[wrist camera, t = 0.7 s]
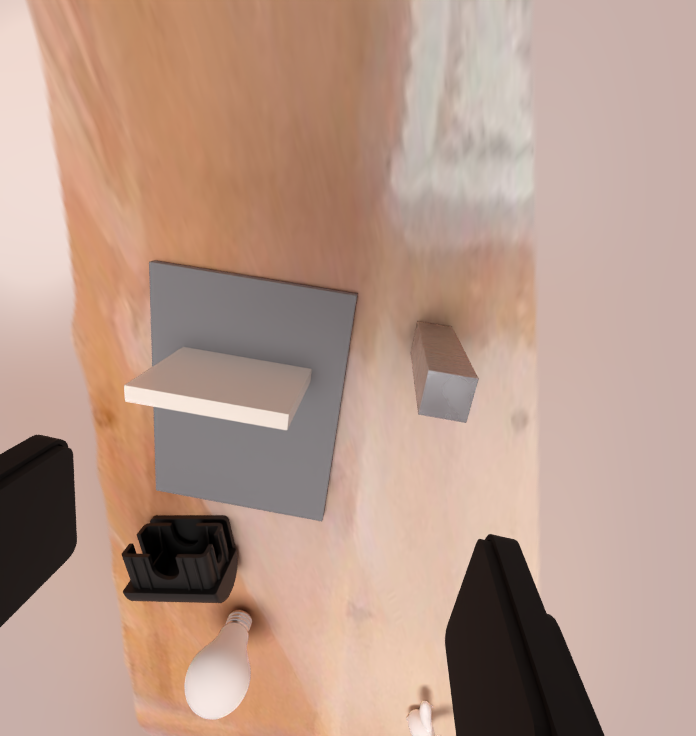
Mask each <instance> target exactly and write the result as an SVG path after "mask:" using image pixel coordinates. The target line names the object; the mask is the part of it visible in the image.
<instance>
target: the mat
mask: <svg viewBox="0 0 696 736" xmlns="http://www.w3.org/2000/svg"><path fill="white" fill-rule="evenodd" d="M149 274H150V307H151V339H152V367H153V366H154V365H156V364H158V363H159V362H161V361H162V360H164V359H165V358H167V357H168V356H170V355H171V354H173V353H174V352H176V351H177V350H179V349H181V348H182V347H187V348H193V349H199V350H205V351H211V352H216V353H222V354H228V355H234V356H240V357H245V358H251V359H257V360H263V361H269V362H274V363H280V364H286V365H292V366H298V367H303V368H309V369H312V372H311V381H310V384H309V386H308V388H307V390H306V392H305V394H304V396H303V398H302V400H301V403H300V405H299V407H298V409H297V411H296V413H295V415H294V417H293V419H292V421H291V423H290V425H289V428H288V430H282V429H276V428H270V427H265V426H259V425H254V424H248V423H243V422H237V421H231V420H226V419H220V418H215V417H209V416H203V415H198V414H192V413H187V412H181V411H176V410H170V409H164V408H159V407H154V437H155V469H156V490H157V491H163V492H168V493H173V494H179V495H184V496H189V497H195V498H200V499H205V500H211V501H216V502H221V503H227V504H232V505H237V506H243V507H248V508H253V509H259V510H264V511H269V512H275V513H280V514H285V515H291V516H296V517H301V518H307V519H312V520H317V521H322V520H323V516H324V510H325V503H326V496H327V490H328V483H329V477H330V470H331V464H332V457H333V451H334V444H335V438H336V431H337V425H338V418H339V412H340V405H341V399H342V392H343V386H344V379H345V372H346V366H347V359H348V353H349V346H350V340H351V333H352V327H353V320H354V314H355V307H356V301H357V294H356V293H350V292H344V291H338V290H332V289H326V288H320V287H314V286H308V285H302V284H295V283H289V282H283V281H277V280H271V279H265V278H259V277H253V276H247V275H241V274H235V273H228V272H222V271H216V270H210V269H204V268H198V267H192V266H186V265H180V264H174V263H167V262H161V261H151V262H149Z"/></svg>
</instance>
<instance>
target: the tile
mask: <svg viewBox="0 0 696 736" xmlns="http://www.w3.org/2000/svg"><path fill="white" fill-rule="evenodd" d="M311 372H312V369H309V368H303V367H298V366H292V365H286V364H280V363H274V362H269V361H263V360H257V359H251V358H245V357H240V356H234V355H228V354H222V353H216V352H211V351H205V350H199V349H193V348H187V347H182V348H181V349H179V350H177V351H176V352H174V353H173V354H171V355H170V356H168V357H167V358H165V359H164V360H162V361H161V362H159V363H158V364H156V365H154V366H153V367H151V368H150V369H148V370H147V371H145V372H144V373H142V374H141V375H139V376H138V377H136V378H134V379H133V380H131V381H130V382H128V383H127V384H125V385H124V392H125V402H131V403H136V404H142V405H148V406H153V407H159V408H164V409H170V410H176V411H181V412H187V413H192V414H198V415H203V416H209V417H215V418H220V419H226V420H231V421H237V422H243V423H248V424H254V425H259V426H265V427H270V428H276V429H282V430H288V428H289V425H290V423H291V421H292V419H293V417H294V415H295V413H296V411H297V409H298V407H299V405H300V403H301V400H302V398H303V396H304V394H305V392H306V390H307V388H308V386H309V384H310V381H311Z"/></svg>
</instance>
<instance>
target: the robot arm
mask: <svg viewBox="0 0 696 736" xmlns="http://www.w3.org/2000/svg"><path fill="white" fill-rule="evenodd" d="M75 511H76V510H75V488H74V465H73V452H72V450H71V449H70V448H68V445H67V443H66V441H64V440H61V439H56V438H52V437H48V436H43V435H35V436H32V437H30V438H28V439H26V440H25V441H23V442H21V443H20V444H18V445H16V446H14V447H12V448H11V449H9V450H7V451H5V452H4V453H2V454H0V627H1V626H2V625H3V624H4V623H5V622H6V621H7V620H8V619H9V618H10V617H11V616H12V615H13V614H14V613H15V612H16V611H17V610H18V609H19V608H20V607H21V606H22V605H23V604H24V603H25V602H26V601H27V600H28V599H29V598H30V597H31V596H32V595H33V594H34V593H35V592H36V591H37V590H38V589H39V588H40V587H41V586H42V585H43V584H44V582H46V581H47V580H48V579H49V578H50V577H51V575H52V574H54V573H55V572H56V571H57V570H58V569H59V568H60V567H61V566H62V565H63V564H64V563H65V562H66V561H67V559H68V558H69V557H70V556H71V555H72V553H73V552H74V549H75V547H76V544H77V533H76V512H75ZM445 647H446V655H447V663H448V671H449V680H450V688H451V696H452V704H453V712H454V720H455V729H456V736H604V733H603V731H602V728H601V726H600V724H599V721H598V719H597V717H596V714H595V712H594V709H593V707H592V704H591V702H590V700H589V697H588V695H587V692H586V691H585V688H584V685H583V683H582V680H581V678H580V676H579V673H578V671H577V668H576V666H575V664H574V661H573V659H572V656H571V654H570V651H569V649H568V647H567V645H566V642H565V640H564V637H563V635H562V632H561V630H560V627H559V626H558V624H557V622H556V620H555V619H554V618H553V617H552V616H551V615H549V614H547V613H546V611H545V609H544V606H543V603H542V601H541V598H540V596H539V593H538V591H537V588H536V586H535V583H534V581H533V578H532V576H531V573H530V571H529V568H528V566H527V563H526V561H525V558H524V555H523V553H522V550H521V548H520V545H519V543H518V542H517V541H516V540H514V539H510V538H505V537H501V536H496V535H492V534H490V535H488V536H487V537H486V539H485V540H482V539H479V540H478V541H477V543H476V545H475V548H474V551H473V554H472V557H471V560H470V563H469V565H468V568H467V571H466V574H465V577H464V580H463V582H462V585H461V588H460V591H459V594H458V597H457V599H456V602H455V605H454V608H453V611H452V614H451V616H450V619H449V622H448V625H447V628H446V635H445Z"/></svg>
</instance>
